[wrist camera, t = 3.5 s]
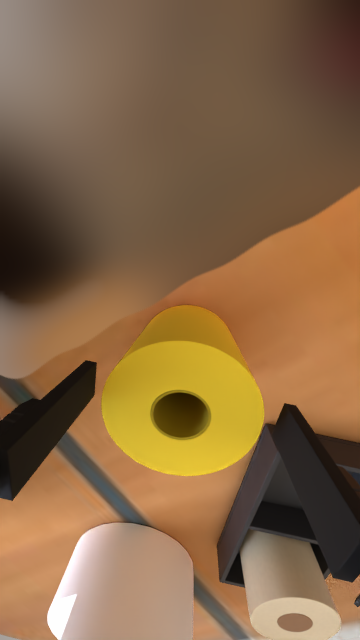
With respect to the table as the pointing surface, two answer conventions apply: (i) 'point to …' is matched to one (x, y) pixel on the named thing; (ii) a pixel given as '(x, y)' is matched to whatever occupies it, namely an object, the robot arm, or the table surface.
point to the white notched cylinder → (125, 587)
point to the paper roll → (286, 589)
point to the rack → (274, 503)
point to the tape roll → (183, 396)
